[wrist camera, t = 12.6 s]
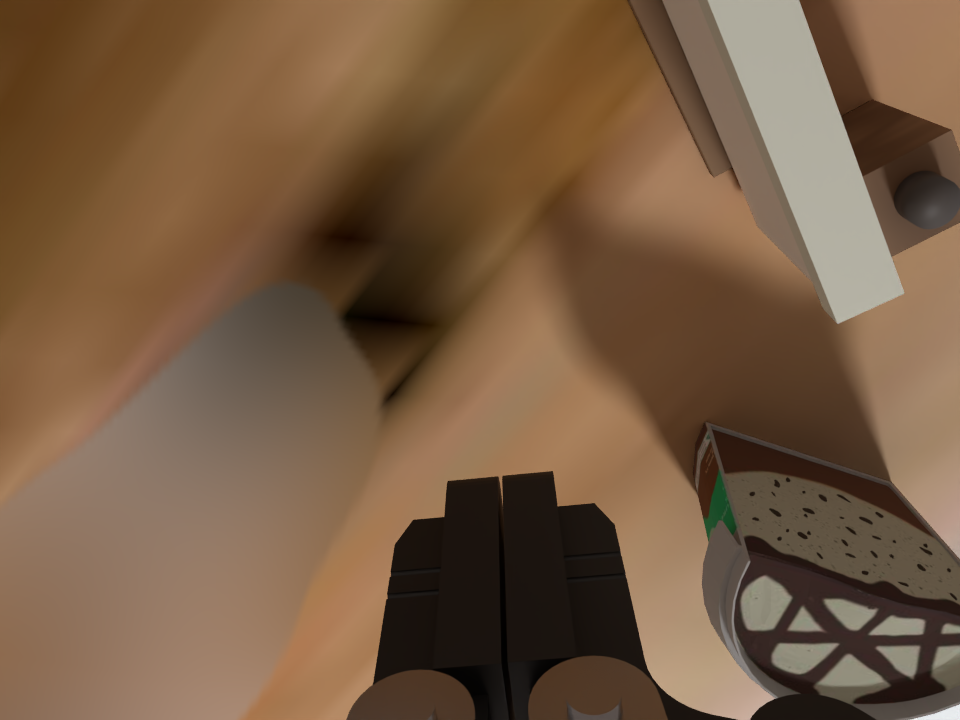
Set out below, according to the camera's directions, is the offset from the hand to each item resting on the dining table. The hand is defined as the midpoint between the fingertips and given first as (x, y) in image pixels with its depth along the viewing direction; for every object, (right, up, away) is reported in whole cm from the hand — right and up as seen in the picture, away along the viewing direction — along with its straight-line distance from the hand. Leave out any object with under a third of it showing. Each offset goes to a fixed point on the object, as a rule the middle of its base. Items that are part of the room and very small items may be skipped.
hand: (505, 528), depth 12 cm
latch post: (+14, +10, +20) cm, 27 cm away
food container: (+13, -4, +28) cm, 31 cm away
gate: (+7, +15, +17) cm, 24 cm away
